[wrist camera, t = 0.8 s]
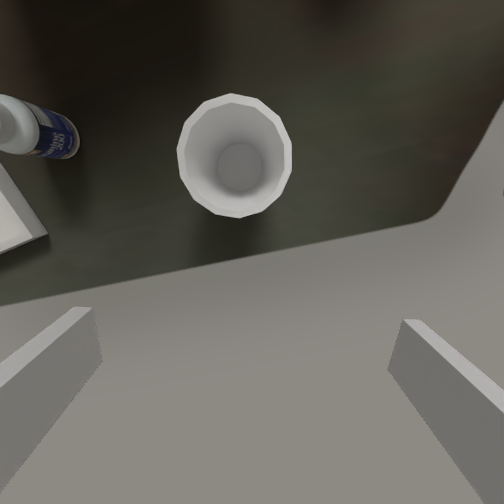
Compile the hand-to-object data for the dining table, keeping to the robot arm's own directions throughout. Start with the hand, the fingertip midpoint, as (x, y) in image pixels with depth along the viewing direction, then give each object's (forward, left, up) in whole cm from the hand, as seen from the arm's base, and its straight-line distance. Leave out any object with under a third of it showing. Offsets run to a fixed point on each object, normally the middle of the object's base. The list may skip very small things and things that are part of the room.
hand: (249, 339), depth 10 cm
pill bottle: (-20, -18, -25) cm, 37 cm away
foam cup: (-8, +2, -25) cm, 26 cm away
